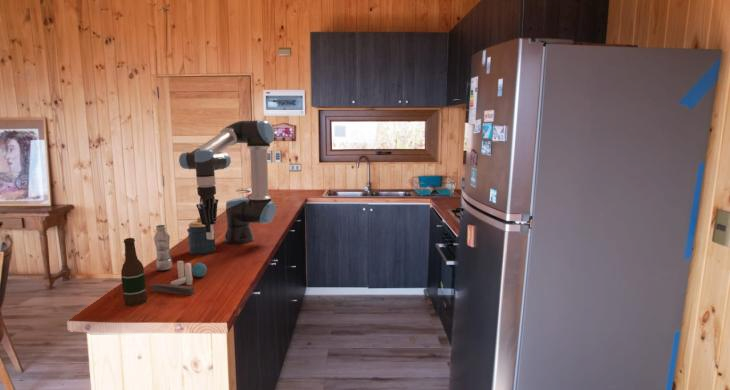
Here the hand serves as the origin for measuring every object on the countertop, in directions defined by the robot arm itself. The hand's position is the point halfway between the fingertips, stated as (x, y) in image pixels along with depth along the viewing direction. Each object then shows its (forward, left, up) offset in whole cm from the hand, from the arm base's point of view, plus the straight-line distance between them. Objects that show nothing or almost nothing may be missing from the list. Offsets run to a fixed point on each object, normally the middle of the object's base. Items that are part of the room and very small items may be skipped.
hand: (210, 238), depth 194 cm
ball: (+10, 0, -11) cm, 15 cm away
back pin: (+16, -4, -14) cm, 22 cm away
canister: (-23, -21, -14) cm, 34 cm away
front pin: (+14, -1, -13) cm, 19 cm away
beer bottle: (+38, -7, -14) cm, 41 cm away
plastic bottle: (+5, -21, -14) cm, 26 cm away
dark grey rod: (+27, 0, -14) cm, 30 cm away
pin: (+18, +1, -14) cm, 23 cm away
